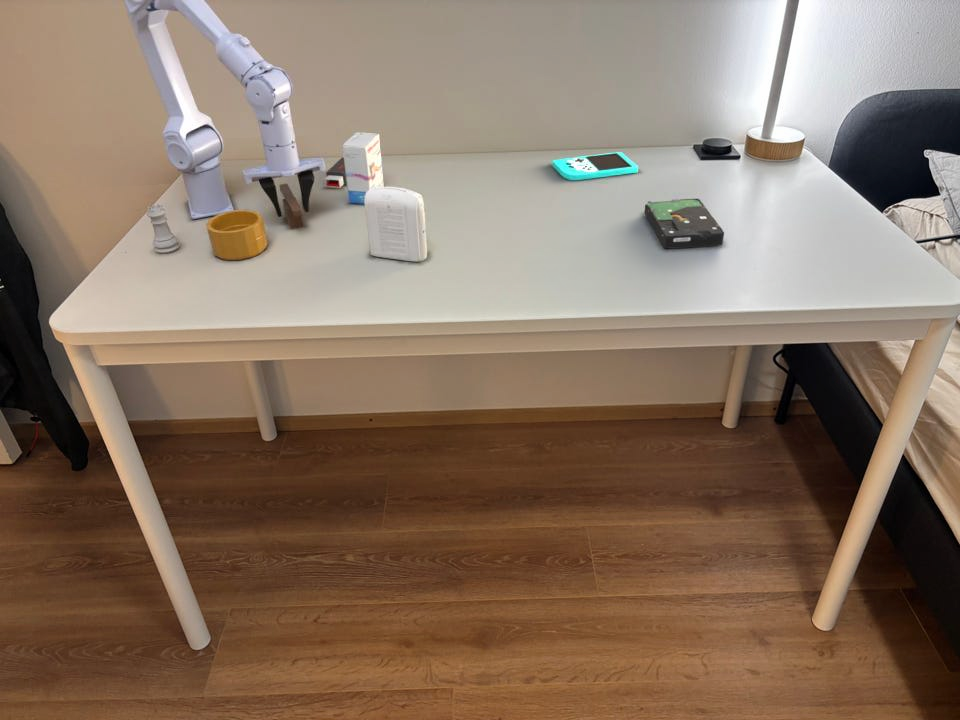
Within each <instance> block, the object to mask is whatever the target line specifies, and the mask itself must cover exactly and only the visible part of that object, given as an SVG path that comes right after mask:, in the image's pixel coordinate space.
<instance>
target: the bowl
mask: <svg viewBox="0 0 960 720" xmlns="http://www.w3.org/2000/svg"><path fill="white" fill-rule="evenodd" d="M205 226H206V230H207V233H208V239H209V242H210V245H211V248H212V252H213V255H215V256H216V257H218V258H220V259H221V260H225V261H242V260H247V259H251V258H253V257H256V256H257V255H259V254H261V253H263V252H264V251H265V249H266V247H267V245H268V242H269V241H268V239H267V234H266V230H265V223H264V219H263V217H262V214H261V213H259V212H257V211H255V210H250V209H234V211H228V212H224V213H221V214H219V215H214V216H212V217H211V218H209V219H208V220H207V222H206V224H205Z"/></svg>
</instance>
